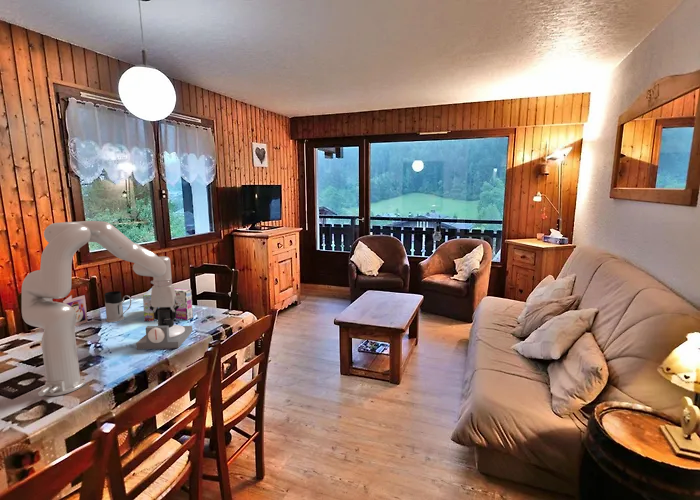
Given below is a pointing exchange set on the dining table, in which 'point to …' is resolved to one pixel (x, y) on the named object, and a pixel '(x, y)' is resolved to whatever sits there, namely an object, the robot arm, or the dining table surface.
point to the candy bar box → (184, 304)
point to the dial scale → (164, 337)
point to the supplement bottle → (164, 317)
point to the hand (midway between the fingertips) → (165, 318)
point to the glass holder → (114, 306)
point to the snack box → (147, 311)
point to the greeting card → (78, 308)
